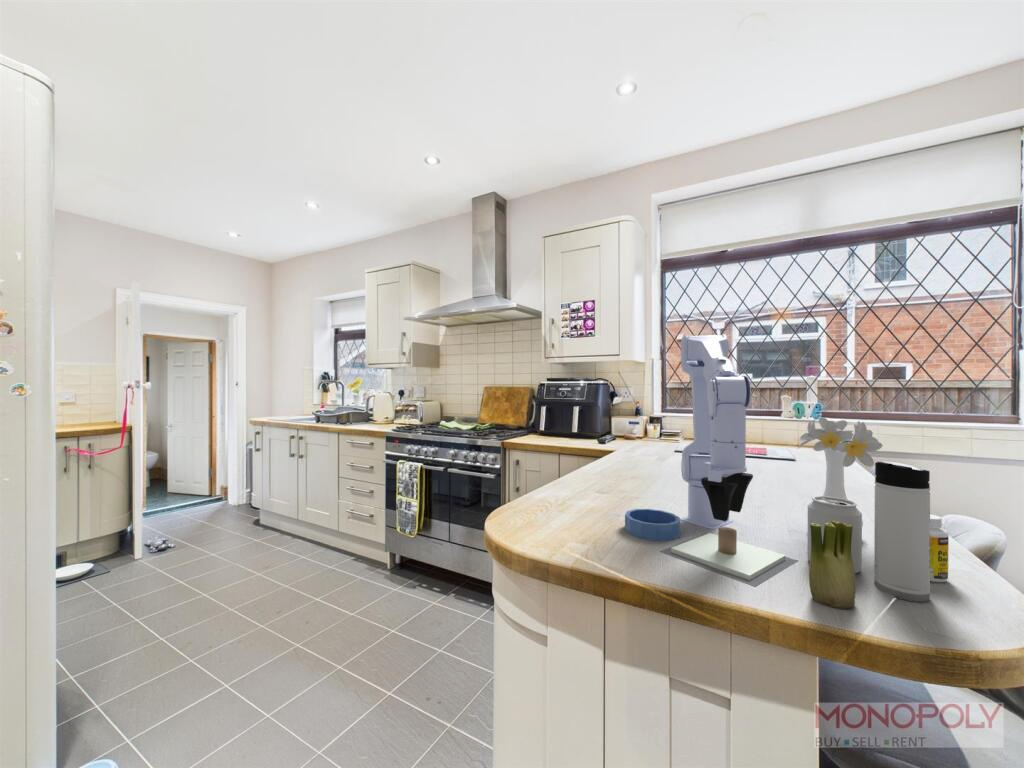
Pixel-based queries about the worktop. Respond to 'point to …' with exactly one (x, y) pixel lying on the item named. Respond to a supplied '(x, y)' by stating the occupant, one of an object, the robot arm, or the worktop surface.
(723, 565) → the lid
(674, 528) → the bowl
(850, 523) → the can
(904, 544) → the travel mug
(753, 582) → the mat
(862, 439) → the flower vase
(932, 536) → the supplement bottle
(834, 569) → the fennel bulb
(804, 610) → the worktop surface
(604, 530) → the worktop surface
